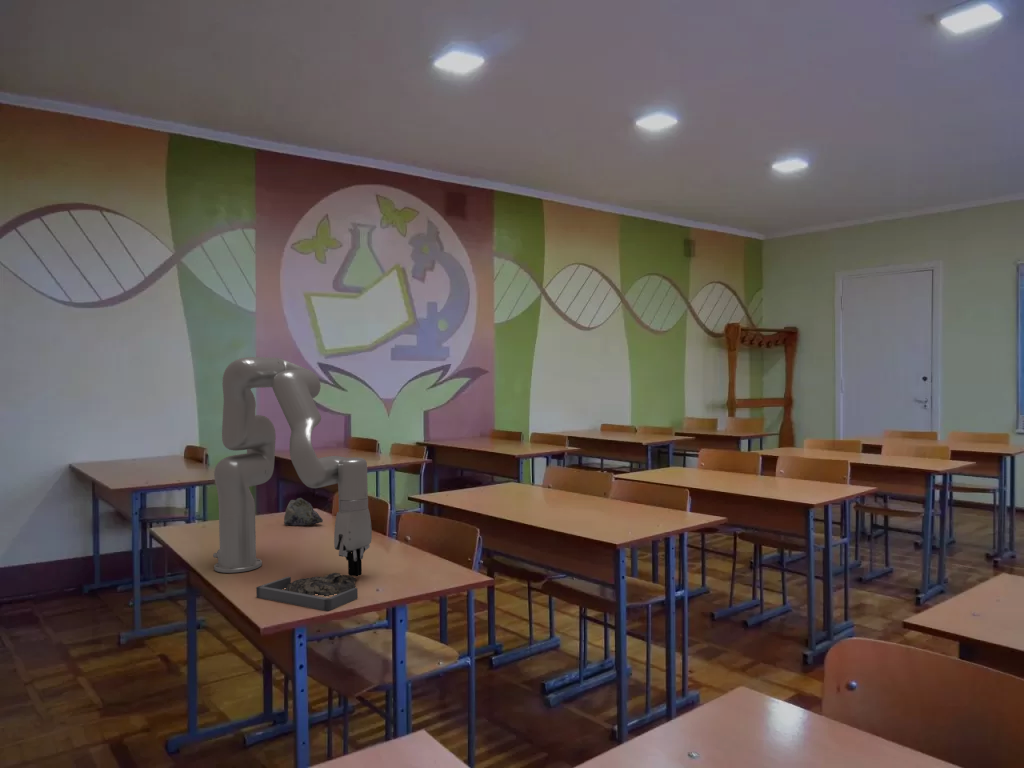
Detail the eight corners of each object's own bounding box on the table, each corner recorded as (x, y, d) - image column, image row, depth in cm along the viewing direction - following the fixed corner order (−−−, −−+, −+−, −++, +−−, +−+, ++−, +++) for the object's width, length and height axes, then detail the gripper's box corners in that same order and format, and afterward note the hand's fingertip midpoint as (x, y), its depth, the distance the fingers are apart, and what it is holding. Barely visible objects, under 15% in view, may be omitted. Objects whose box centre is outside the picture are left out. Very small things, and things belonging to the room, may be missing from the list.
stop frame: (256, 597, 176) (256, 587, 176) (288, 586, 185) (287, 576, 185) (327, 611, 165) (327, 600, 165) (357, 598, 174) (357, 588, 174)
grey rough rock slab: (371, 591, 182) (348, 578, 194) (371, 576, 182) (348, 563, 194) (296, 606, 171) (277, 591, 183) (295, 590, 171) (277, 576, 183)
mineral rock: (324, 526, 258) (324, 498, 258) (295, 531, 251) (295, 502, 251) (309, 521, 268) (309, 494, 268) (281, 525, 261) (280, 497, 261)
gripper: (361, 499, 198) (362, 566, 198) (322, 509, 185) (324, 580, 185) (382, 501, 194) (384, 569, 195) (344, 511, 181) (346, 584, 182)
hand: (355, 574), depth 190 cm, fingers closed
